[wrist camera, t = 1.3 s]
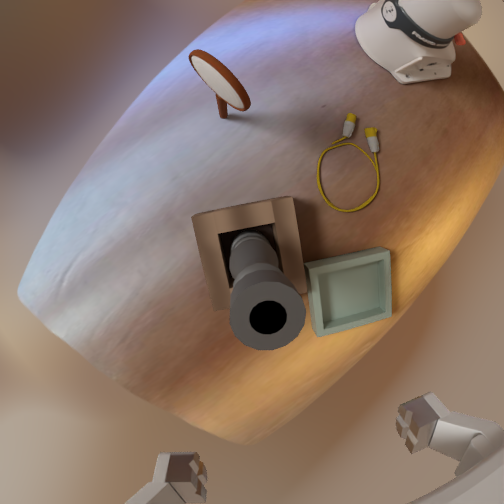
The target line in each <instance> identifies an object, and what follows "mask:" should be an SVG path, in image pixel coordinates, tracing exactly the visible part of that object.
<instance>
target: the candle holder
mask: <svg viewBox="0 0 504 504" xmlns="http://www.w3.org/2000/svg"><path fill="white" fill-rule="evenodd" d="M278 262H279V261H278V258H277V255H276V252H275V251H274V250H273V248H272V247H271V245H270V242H269V241H268V239H267V238H266V237H265V236H264V235H263V234H262V233H261V232H259V231H257V230H251V229H246V230H244V231H241V232H239V233H238V234H237V235H236V236H235V237H234V238H233V240H232V242H231V244H230V265H229V269H230V271H231V274H232V277H233V278H234V279H235V281H234V283H233V291H232V293H231V296H230V325H231V328H232V330H233V332H234V335H235V336H236V337H237V338H238V339H239V340H240V341H241V342H242V343H243V344H244V345H246V346H249V347H251V348H254V349H257V350H274V349H277V348H280V347H283V346H286V345H287V344H289V343H290V342H291V341H292V340H294V339H295V338H296V337H297V336H298V334H299V333H300V331H301V329H302V328H303V326H304V323H305V316H306V310H305V306H304V303H303V300H302V298H301V296H300V294H299V293H298V291H297V289H296V288H295V286H294V285H293V284H292V282H291V281H290V280H289V279H288V278H287V277H286V276H285V275H284V274H283V273H282V272H281V270H280V269H279V268H278Z"/></svg>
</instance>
